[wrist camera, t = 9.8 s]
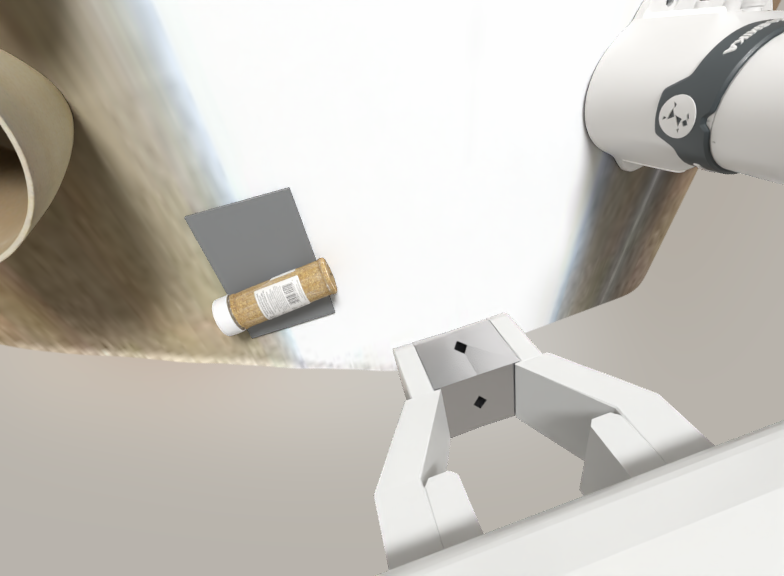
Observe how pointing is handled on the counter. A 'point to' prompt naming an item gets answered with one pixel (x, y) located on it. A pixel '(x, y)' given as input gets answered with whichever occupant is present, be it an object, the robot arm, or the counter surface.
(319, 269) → the sprinkles bottle
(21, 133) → the plant pot
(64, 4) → the counter surface
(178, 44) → the counter surface
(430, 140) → the counter surface
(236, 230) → the mat
